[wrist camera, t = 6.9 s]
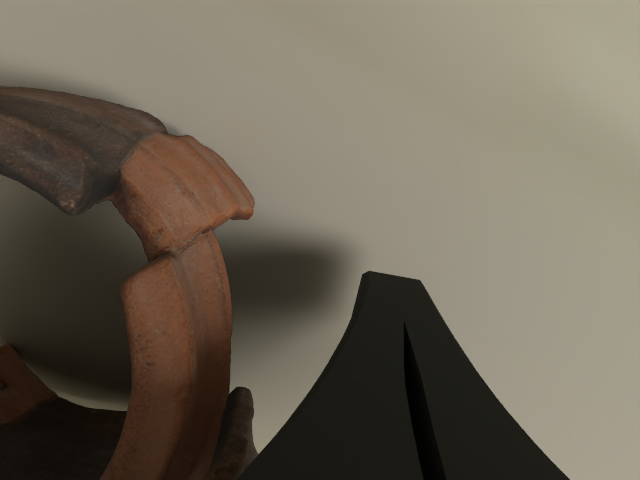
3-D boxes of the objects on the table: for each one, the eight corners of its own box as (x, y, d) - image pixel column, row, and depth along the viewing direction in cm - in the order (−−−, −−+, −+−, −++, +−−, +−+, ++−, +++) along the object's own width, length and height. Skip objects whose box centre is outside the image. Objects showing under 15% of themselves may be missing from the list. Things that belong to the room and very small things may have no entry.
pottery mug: (-91, 302, 14) (-630, 395, 6) (138, 71, 14) (-94, -146, 6) (206, 588, 15) (68, 1046, 6) (431, 360, 15) (584, 523, 6)
